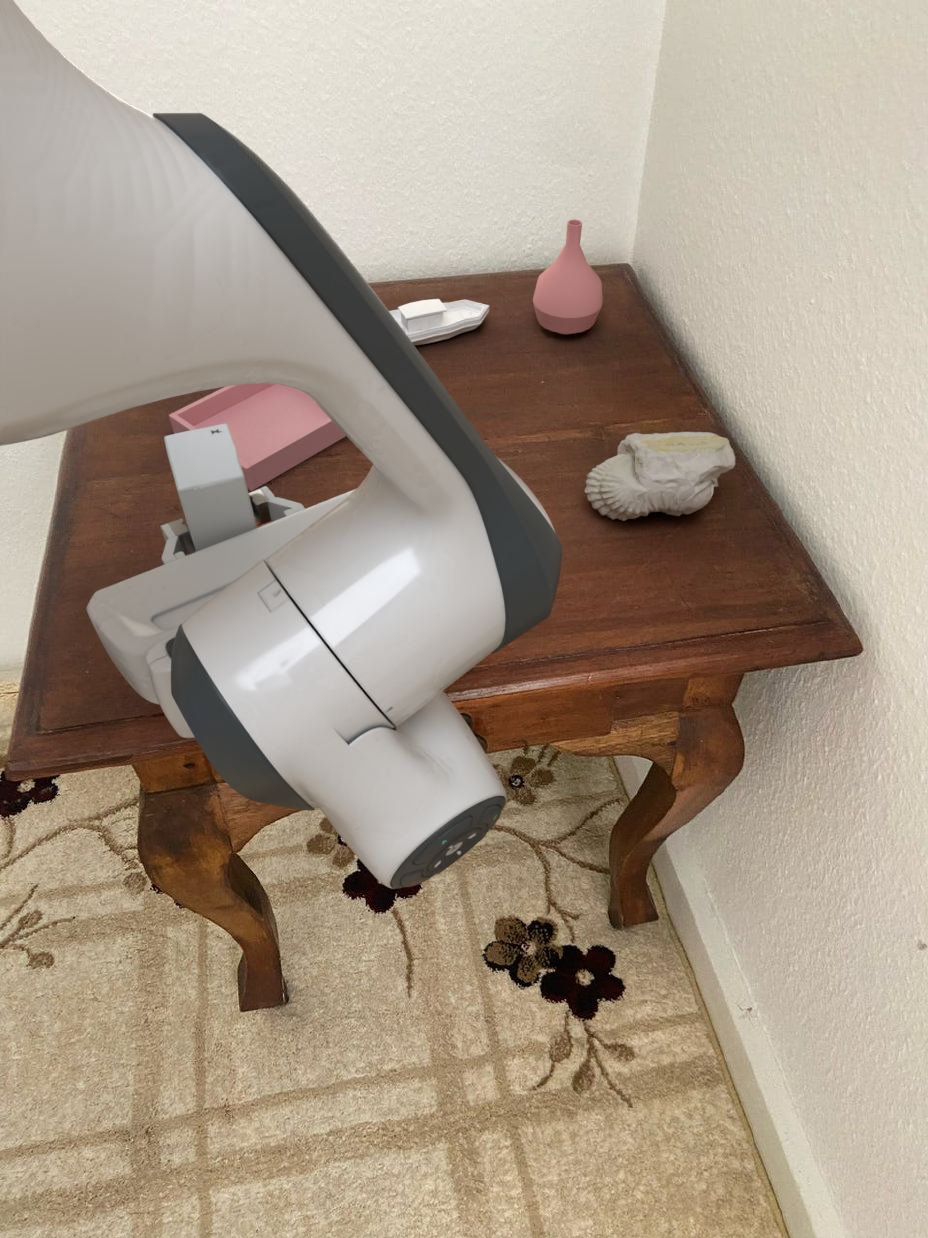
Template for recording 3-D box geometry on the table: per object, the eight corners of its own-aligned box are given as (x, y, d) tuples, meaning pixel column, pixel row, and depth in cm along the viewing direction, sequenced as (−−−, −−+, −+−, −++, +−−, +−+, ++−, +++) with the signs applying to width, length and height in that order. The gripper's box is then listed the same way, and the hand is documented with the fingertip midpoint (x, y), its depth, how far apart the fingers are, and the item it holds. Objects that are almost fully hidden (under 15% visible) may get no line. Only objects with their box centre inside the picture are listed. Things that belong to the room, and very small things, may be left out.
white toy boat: (381, 329, 99) (379, 301, 97) (479, 309, 102) (479, 281, 100) (399, 355, 95) (397, 327, 93) (499, 333, 98) (500, 306, 96)
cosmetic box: (202, 568, 64) (161, 433, 56) (259, 554, 66) (228, 419, 57) (216, 625, 61) (175, 490, 52) (277, 609, 62) (246, 474, 53)
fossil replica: (562, 497, 79) (630, 569, 74) (569, 427, 72) (644, 501, 67) (666, 447, 83) (738, 512, 78) (682, 376, 76) (762, 442, 71)
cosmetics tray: (251, 491, 80) (246, 468, 78) (174, 437, 85) (168, 414, 83) (366, 424, 87) (363, 402, 85) (288, 378, 92) (284, 356, 90)
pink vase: (517, 330, 99) (522, 223, 90) (558, 305, 103) (567, 200, 94) (571, 354, 95) (582, 246, 86) (612, 328, 99) (627, 221, 90)
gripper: (455, 536, 53) (346, 424, 60) (123, 683, 45) (47, 533, 53) (456, 608, 57) (355, 495, 65) (155, 752, 50) (81, 604, 57)
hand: (215, 513), depth 59 cm, fingers closed on cosmetic box, 5 cm apart
